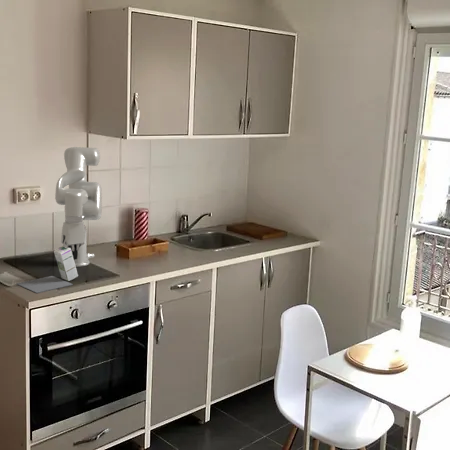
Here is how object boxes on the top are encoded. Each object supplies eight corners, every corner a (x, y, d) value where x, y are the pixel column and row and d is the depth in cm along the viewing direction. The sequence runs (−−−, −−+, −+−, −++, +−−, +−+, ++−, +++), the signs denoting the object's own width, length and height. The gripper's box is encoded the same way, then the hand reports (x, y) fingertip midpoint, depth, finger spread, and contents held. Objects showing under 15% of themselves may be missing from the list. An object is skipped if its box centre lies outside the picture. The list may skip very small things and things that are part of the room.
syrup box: (78, 276, 282) (71, 247, 276) (68, 281, 278) (60, 253, 272) (71, 273, 286) (64, 245, 280) (60, 278, 282) (53, 250, 276)
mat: (52, 276, 284) (52, 275, 284) (72, 285, 274) (72, 284, 274) (16, 284, 271) (16, 283, 271) (36, 293, 261) (36, 292, 261)
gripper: (82, 216, 286) (82, 254, 289) (54, 219, 275) (54, 259, 278) (92, 218, 281) (92, 257, 285) (64, 222, 270) (64, 263, 273)
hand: (73, 258), depth 281 cm, fingers closed
